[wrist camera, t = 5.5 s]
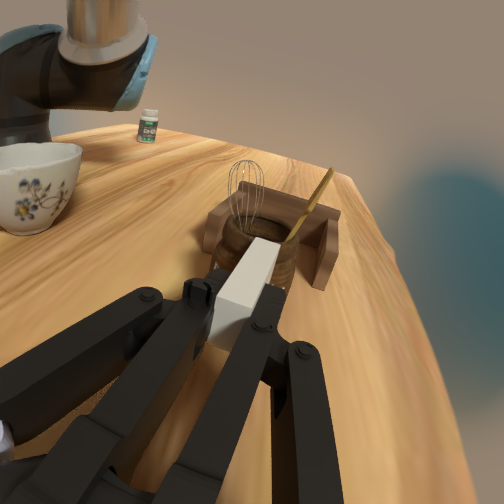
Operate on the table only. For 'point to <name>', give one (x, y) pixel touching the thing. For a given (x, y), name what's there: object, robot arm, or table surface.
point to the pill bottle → (148, 126)
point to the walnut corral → (288, 210)
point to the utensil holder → (263, 235)
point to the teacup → (36, 184)
